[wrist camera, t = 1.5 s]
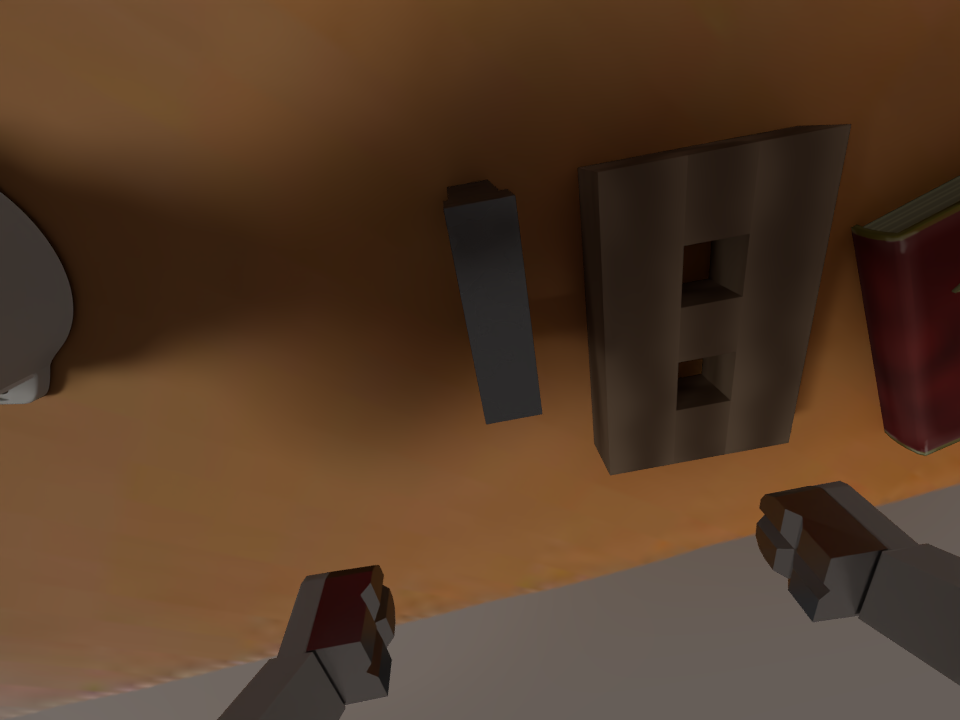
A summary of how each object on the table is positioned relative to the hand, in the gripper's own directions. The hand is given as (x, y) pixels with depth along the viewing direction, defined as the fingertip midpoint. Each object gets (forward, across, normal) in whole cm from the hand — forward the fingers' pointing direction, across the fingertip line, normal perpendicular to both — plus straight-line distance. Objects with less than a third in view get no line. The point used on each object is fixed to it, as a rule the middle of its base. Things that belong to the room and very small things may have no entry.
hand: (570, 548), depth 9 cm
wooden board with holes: (+23, -14, +6) cm, 28 cm away
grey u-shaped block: (+23, 0, 0) cm, 23 cm away
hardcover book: (+24, -35, +10) cm, 44 cm away
